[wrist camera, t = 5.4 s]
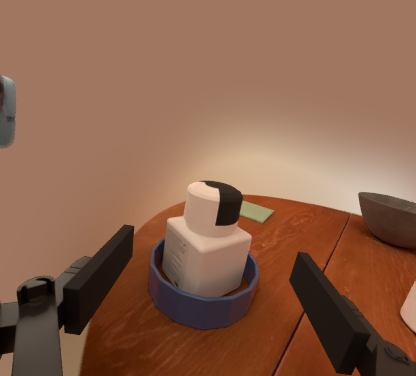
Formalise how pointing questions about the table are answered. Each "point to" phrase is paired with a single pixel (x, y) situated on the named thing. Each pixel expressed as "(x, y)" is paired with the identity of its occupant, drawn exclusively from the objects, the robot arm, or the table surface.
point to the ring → (200, 297)
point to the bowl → (389, 218)
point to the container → (207, 241)
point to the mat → (255, 212)
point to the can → (410, 309)
